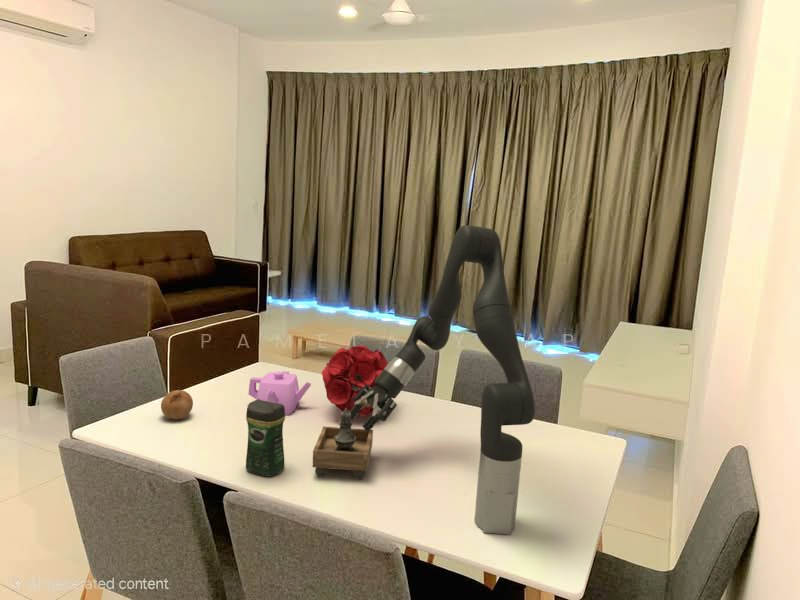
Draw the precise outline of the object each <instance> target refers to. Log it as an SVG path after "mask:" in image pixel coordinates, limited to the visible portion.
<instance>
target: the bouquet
mask: <svg viewBox="0 0 800 600" xmlns="http://www.w3.org/2000/svg"><path fill="white" fill-rule="evenodd" d="M388 364H389V362H388V361H387V358H386V357H385V355H384V353H383V352H382V351H380V350H379V349H376V350H375V351H374V350H373V351H372V350H371V349H369V347H368V346H366V345H356V346H352V347H350V348H345V347H341V348H339V349H338V350H336V352H335V353H334V354H333V355H332V357H330V359H329V362H327V363H326V366H325V367H324V369H322V371H321V376H322V381H323V384H324V389H325V392H326V399H327V400H328V401H329V403H331V404H333V405H335V407H336V408H337V409H338V410H340V412H341V413H342V412H343V411H345V408H347V411H350V410H351V409H352V408H353V406H354V405H355V402H354V401H353V398H354V397H355V396H356V395H357V394H358V393H359V391H360V390H361V389H362V388H363V387H364V386H365V385H366V384H367V385H368V386H369V387H370V388H373V387H374V386H375V383H374V381H375V379H376V378H377V377H378V376H379V375H380V373H381V372H382V371H383V370H384V368H385V367H386V366H387V365H388ZM361 397H362V396H360V397H359V398H358V400H359V399H361ZM366 400H367V399H366ZM361 404H363V403H361ZM360 410H361V411H360V412H359V413H358V414H357V415H359V416H363V417H368V416H369V415H372V414H373V407H371V406H369V407H364V408H362V409H360Z"/></svg>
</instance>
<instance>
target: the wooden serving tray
mask: <svg viewBox="0 0 800 600" xmlns="http://www.w3.org/2000/svg"><path fill="white" fill-rule="evenodd" d="M320 431H321V432H320V434H319V436H318V438H317V440H316V443H315V445H314V448H313V450H312V468H314V469H315V470H314V472H315V474H316V476H317V477H320V476H322V477H325V475H326V474H327V472H328V470H329V469H330V470H331V469H332V470H345V471H346V470H347V471H353V476H354V478H355V479H357V480H362V479H364V478H365V477H366V474H367V473H366V472H367V471H368V468H369V462H370V458H371V454H372V453H371V452H372V448H373V440H374V439H373V438H374V435H373V434H374V429H370V430H369V431H366V430H365V429H364V428H353V427H351V434H352V435H354V436H355V437H356V440H355V442H354V444H353V445H352V446H351V447H353V448H354V452H347V451H335V448H336V447H338V446H337V445H336V442H335V439H334V436H335V435H337V434H339V432H340V427H339V426H338V427H336V426H335V427H334V426H323V427H322V429H321V430H320Z"/></svg>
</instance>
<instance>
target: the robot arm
mask: <svg viewBox="0 0 800 600" xmlns="http://www.w3.org/2000/svg"><path fill="white" fill-rule="evenodd" d="M503 260H504V259H503V253H502V245H501V239H500V237H499V235H498V232H497V231H495V230H494V229H492V228H488V227H483V226H475V225H470V224H469V225H467V224H464V225H462V226H460V227H459V228H458V229H457V230H456V232H455V235H454V237H453V239H452V241H451V244H450V248H449V252H448V255H447V258H446V262H445V265H444V269H443V273H442V276H441V280H440V282H439V286H438V288H437V291H436V293H435V295H434V297H433V299H432V301H431V303H430V305H429V307H428V315H429V316H428V315H423V316H420V317H418V319H417V320H416V321H415V322H414V325H413V326H412V330H411V331H410V333H409V337H408V338H407V340H406V342H405V344H404V345H403V346H402V348H401V349H400V350H399V352H397V354H396V355H395V356H394V358H393V359H392V360H390V362H388V365H387V366H386V367H385V368H384V370H383V371H382V372H381V373H380V375H379V376H378V377H377V378H376V379H375V381H374V383H375V386H374V387H373V388H370V387H369V386H368V385H367V384H366V385H365V386H364V387H363V388H362V389H361V390H360V391H359V393H358V394H357V395H356V396H355V397H354V398H353V401H354V402H355V405H354V406H353V408H352V409H351V410H350V411H349V412H351V421H353V420H354V419H355V418H356V417H357V415H359V414H358V413H359V412H360V411H361V410H360V409H362V408H364V407H369V406H371V407H373V413H371V415H370V416H369V417H368V418H367V419H366V421H365V422H364V423H363V425H362V429H365V430H366V431H369V430H373V429H372V428H373V427H374V426H375V425H376V424H377V423H378V422H380V421H382V422H386V420H387V419H388V418H389V417H390V415H391V414H392V413H393V411H394V410H395V408H396V407H397V405H398V404H397V402H396V401H395V400H394V399H396V398H397V397H398V396H399V394H400V393H401V392H402V390H404V388H405V387H406V385H408V383H409V382H410V381H411V379H412V377H413V376H414V375H415V373H416V372H417V371H418V370H419V368H420V367H421V366H422V364H423V363H424V361H425V360H426V355H425V353H424V351H423V350H422V349H421V348H420V347H419V345H418V341H420V342H421V343H422V344H424V345H426V346H427V347H428V348H430V349H431V350H433V351H439V350H442V349H443V348H444V347H445V346H446V344H447V343H448V341H449V338H450V335H451V326H452V322H453V318H454V315H455V314H456V312H457V310H458V308H459V306H460V304H461V301H462V298H463V297H462V294H463V293H462V290H463V289H462V285H461V280H460V270H461V268H462V266H463V265H464V264H465V262H466V263H473V264H474V263H475V264H480V265H481V268H482V273H483V283H482V284H481V287H480V289H479V291H478V293H477V295H476V298H475V300H474V302H473V305H472V317H473V322H474V323H473V324H474V327H475V332H476V336H477V337H478V340H479V341H480V343H481V344H482V345H483V346H484V348H486V349H487V351H488V352H489V353H490V354H491V355H492V356H493V358H494V359H495V360H496V361H497V362H498V364H499V365H500V367H501V368H502V370H503V372H504V375H505V377H506V381H507V382H503V383H501V382H498V383H496V382H495V383H488V384H486V385H485V387H484V389H483V391H482V396H481V403H480V404H481V409H480V412H481V413H480V415H481V416H480V431H479V432H480V448H479V449H480V450H479V451H480V453H479V463H478V464H479V465H478V473H477V483H476V485H477V486H476V498H475V511H474V523H475V525H476V527H478V528H480V529H481V530H482V532H483V533H485V534H497V535H499V534H500V535H511V534H512V531H513V530H514V529H515V527H516V517H517V509H518V508H517V507H518V500H519V499H518V497H519V488H520V487H519V486H520V479H521V478H520V477H521V476H520V475H521V469H522V468H521V467H522V457H523V443H522V441H521V440H520V439H519V438H517V437H515V436H513V435H512V434H509V433H506V432H503V431H502V426H521V425H522V426H525V425H529V424H530V423H532V421H534V419H535V418H534V417H535V414H536V413H535V412H536V405H535V404H536V403H535V398H534V393H533V390H532V387H531V383H530V380H529V377H528V373H527V369H526V367H525V364H524V361H523V358H522V353H521V350H520V344H519V340H518V336H517V332H516V331H517V330H516V325H515V319H514V316H513V310H512V307H511V303H510V299H509V294H508V289H507V283H506V277H505V273H504V272H505V271H504V262H503ZM360 396H362V397H361V399H359V400H358V398H359V397H360ZM366 399H367V400H366ZM361 403H363V404H361Z"/></svg>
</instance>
